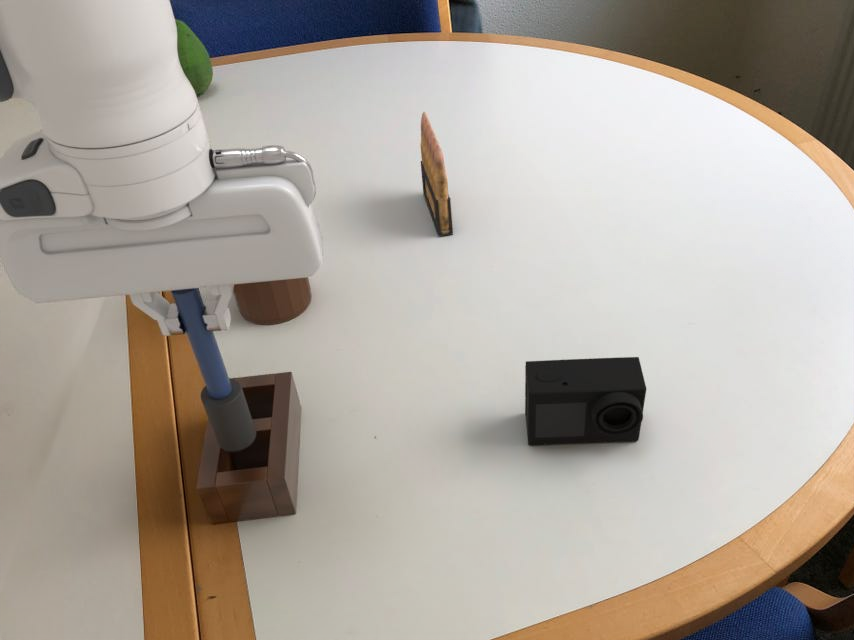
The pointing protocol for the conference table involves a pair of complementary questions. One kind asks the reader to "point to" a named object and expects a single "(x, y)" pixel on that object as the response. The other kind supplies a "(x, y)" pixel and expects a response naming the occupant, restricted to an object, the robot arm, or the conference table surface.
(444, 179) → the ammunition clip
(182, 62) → the fruit
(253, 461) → the rack
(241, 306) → the cup
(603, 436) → the digital camera
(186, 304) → the brush
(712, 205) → the conference table surface
